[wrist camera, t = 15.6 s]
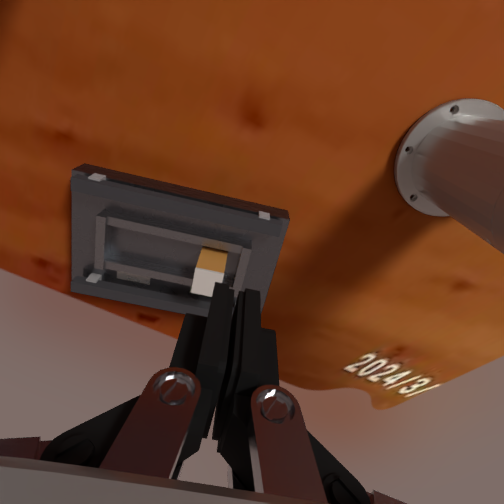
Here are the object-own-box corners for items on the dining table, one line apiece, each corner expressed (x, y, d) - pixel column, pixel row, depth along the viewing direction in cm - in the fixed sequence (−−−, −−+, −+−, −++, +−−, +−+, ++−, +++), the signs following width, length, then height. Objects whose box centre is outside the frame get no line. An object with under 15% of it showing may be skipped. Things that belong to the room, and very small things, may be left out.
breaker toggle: (227, 251, 40) (223, 274, 36) (222, 273, 42) (218, 298, 37) (202, 246, 40) (195, 268, 35) (198, 268, 41) (190, 292, 37)
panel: (287, 210, 41) (291, 226, 37) (259, 304, 47) (259, 327, 43) (84, 163, 39) (62, 174, 35) (82, 267, 45) (63, 288, 41)
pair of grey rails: (281, 216, 38) (283, 223, 36) (252, 317, 45) (251, 328, 43) (81, 170, 36) (70, 175, 34) (79, 282, 43) (70, 292, 41)
